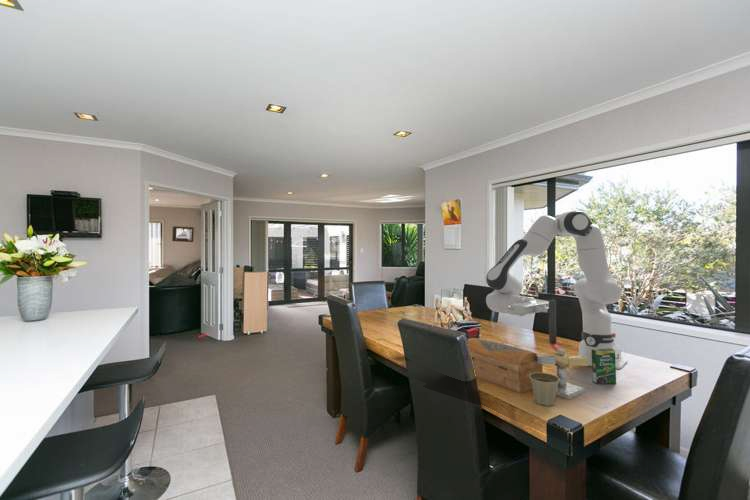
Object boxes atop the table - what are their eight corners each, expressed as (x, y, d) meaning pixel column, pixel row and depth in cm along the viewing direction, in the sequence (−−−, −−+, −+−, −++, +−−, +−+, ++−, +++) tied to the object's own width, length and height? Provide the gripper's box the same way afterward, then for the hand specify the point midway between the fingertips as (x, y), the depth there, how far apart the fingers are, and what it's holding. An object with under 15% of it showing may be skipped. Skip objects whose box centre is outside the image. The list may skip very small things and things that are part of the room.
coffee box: (596, 384, 136) (595, 350, 136) (591, 381, 139) (590, 348, 139) (616, 384, 136) (616, 350, 136) (611, 381, 139) (611, 348, 139)
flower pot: (551, 411, 114) (550, 384, 114) (523, 401, 121) (523, 376, 121) (565, 403, 119) (564, 378, 119) (538, 394, 127) (538, 370, 127)
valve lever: (566, 355, 129) (565, 305, 129) (558, 355, 129) (557, 304, 129) (555, 345, 142) (554, 300, 142) (548, 345, 143) (547, 299, 143)
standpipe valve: (554, 381, 140) (553, 348, 140) (591, 392, 128) (590, 356, 128) (533, 388, 132) (532, 353, 132) (570, 401, 121) (570, 363, 121)
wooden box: (545, 385, 136) (544, 349, 136) (519, 395, 127) (518, 356, 127) (483, 364, 161) (482, 334, 161) (457, 371, 152) (457, 339, 152)
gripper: (503, 300, 148) (533, 304, 137) (532, 296, 159) (563, 300, 148) (503, 315, 148) (534, 320, 137) (533, 310, 159) (563, 315, 148)
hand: (549, 309), depth 142 cm, fingers closed, pressing on valve lever
